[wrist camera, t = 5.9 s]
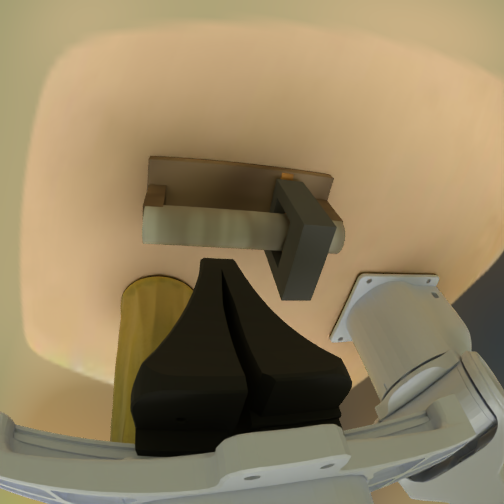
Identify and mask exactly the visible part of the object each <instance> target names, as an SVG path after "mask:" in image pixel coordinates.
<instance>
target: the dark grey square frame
mask: <svg viewBox="0 0 504 504" xmlns="http://www.w3.org/2000/svg"><path fill="white" fill-rule="evenodd" d="M269 213H280V214H285V213H286V215H287V217H288V219H289V221H290V225H289V229H288V233H287V237H286V241H285V244H284V248H283V252H282V251H276V250H264V251H265V254H266V256H267V259H268V262H269V265H270V268H271V271H272V274H273V277H274V280H275V283H276V286H277V288H278V291H279V294H280V297H281V300H311V298H312V295H313V293H314V290H315V287H316V285H317V282H318V279H319V277H320V274H321V271H322V268H323V266H324V263H325V260H326V257H327V254H328V252H329V249H330V246H331V243H332V240H333V237H334V234H335V231H336V228H337V227H336V225H335V224H334V223H333V221H332V220H331V219H330V217H329V216H328V214H327V213H326V212H325V210H324V209H323V208H322V206H321V205H320V204H319V202H318V201H317V200H316V198H315V197H314V196H313V195H312V193H311V192H310V191H309V189H308V188H307V187H306V185H305V184H304V183H303V182H299V181H291V180H283V179H276V184H275V188H274V193H273V197H272V202H271V206H270V211H269Z"/></svg>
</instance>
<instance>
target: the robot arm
mask: <svg viewBox="0 0 504 504" xmlns="http://www.w3.org/2000/svg"><path fill="white" fill-rule="evenodd" d="M368 279H369V280H368ZM438 281H439V277H438V276H437V275H412V274H361V275H360V276H359V277H358V279H357V281H356V283H355V285H354V288H353V290H352V292H351V294H350V296H349V299H348V301H347V303H346V305H345V307H344V309H343V311H342V314H341V316H340V318H339V320H338V322H337V324H336V326H335V328H334V330H333V332H332V334H331V336H330V340H331V342H347V341H353V343H354V345H355V347H356V349H357V351H358V353H359V355H360V357H361V360H362V362H363V364H364V366H365V368H366V370H367V372H368V375H369V377H370V379H371V381H372V383H373V385H374V388H375V390H376V392H377V394H378V396H379V399H380V401H381V403H380V404H379V405H377V406H376V407H375V410H376V412H377V414H378V417H379V418H377V419H376V420H375V422H374V423H373V425H368V426H364V427H360V428H355V429H350V430H345V431H343V429H342V426H341V424H340V421H339V418H340V417H341V412H340V409H339V405H340V404H341V403H342V401H343V400H344V399H345V397H346V396H347V395H348V393H349V391H350V389H351V387H352V381H351V378H350V376H349V373H348V371H347V369H346V367H345V365H344V363H343V361H342V359H341V358H339V357H337V356H335V355H333V354H331V353H329V352H327V351H325V350H324V349H322V348H320V347H318V346H317V345H315V344H313V343H312V342H310V341H309V340H307V339H306V338H304V337H303V336H301V335H300V334H299V333H297V332H296V331H295V330H294V329H292V328H291V327H290V326H288V325H287V324H286V323H285V322H284V321H283V320H282V319H280V318H279V317H278V316H277V315H276V314H275V313H274V312H273V311H272V310H271V309H270V308H269V307H268V306H267V304H266V303H265V302H264V301H263V300H262V299H261V297H260V296H259V295H258V294H257V292H256V291H255V290H254V289H253V287H252V286H251V285H250V283H249V282H248V280H247V279H246V278H245V276H244V275H243V273H242V272H241V270H240V268H239V267H238V265H237V264H236V262H235V261H234V260H233V259H214V258H203V259H201V261H200V271H199V276H198V279H197V282H196V285H195V288H194V290H193V293H192V295H191V297H190V299H189V301H188V304H187V305H186V307H185V309H184V311H183V313H182V314H181V316H180V318H179V319H178V321H177V322H176V324H175V325H174V327H173V328H172V330H171V331H170V333H169V334H168V335H167V336H166V338H165V339H164V340H163V341H162V342H161V344H160V345H159V346H158V347H157V348H156V349H155V350H154V351H153V352H152V353H151V354H150V355H149V356H148V357H147V358H146V359H145V360H144V361H143V362H142V364H141V366H140V368H139V371H138V373H137V375H136V378H135V381H134V384H133V387H132V392H131V404H130V411H131V414H132V418H133V421H134V425H135V444H131V443H119V442H110V441H101V440H93V439H86V438H79V437H72V436H67V435H61V434H56V433H51V432H45V431H41V430H36V429H32V428H28V427H24V426H20V425H15V424H14V422H13V420H12V419H11V418H10V417H9V416H8V415H6V414H5V413H2V412H0V488H1V489H4V490H6V491H9V492H12V493H15V494H18V495H22V496H24V497H28V498H31V499H34V500H38V501H41V502H44V503H47V504H374V502H373V499H372V497H371V493H370V492H372V491H375V490H377V489H380V488H383V487H385V486H388V485H390V484H393V483H395V482H399V484H400V485H401V486H402V487H403V489H404V490H405V492H406V493H408V495H409V497H410V498H412V499H417V500H424V501H437V502H447V503H450V504H504V466H503V464H504V390H503V388H502V387H501V385H500V383H499V382H498V380H497V379H496V377H495V375H494V374H493V373H492V371H491V370H490V368H489V367H488V366H487V364H486V363H485V361H484V360H483V359H482V358H481V356H480V355H479V354H478V353H477V352H471V338H470V334H469V331H468V329H467V327H466V325H465V323H464V322H463V321H462V319H461V318H460V317H459V315H458V314H457V313H456V311H455V310H454V309H453V307H452V306H451V305H450V303H449V302H448V301H447V300H446V298H445V297H444V296H443V294H442V293H441V292H440V291H439V289H438V288H437V287H436V285H437V283H438Z"/></svg>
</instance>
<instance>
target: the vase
mask: <svg viewBox="0 0 504 504" xmlns="http://www.w3.org/2000/svg"><path fill="white" fill-rule="evenodd" d="M192 293H193V290H192V289H191V288H190V287H189V286H187V285H186V284H184V283H183V282H181V281H178V280H176V279H173V278H169V277H161V276H154V277H147V278H143V279H140V280H138V281H136V282H134V283H133V284H131V285H130V286H129V287H128V288H127V289H126V290H125V291H124V293H123V295H122V300H121V322H120V330H119V339H118V350H117V357H116V366H115V378H114V392H113V410H112V420H111V437H110V442H119V443H131V444H135V425H134V421H133V418H132V414H131V411H130V404H131V392H132V387H133V384H134V381H135V378H136V375H137V373H138V371H139V368H140V366H141V364H142V362H143V361H144V360H145V359H146V358H147V357H148V356H149V355H150V354H151V353H152V352H153V351H154V350H155V349H156V348H157V347H158V346H159V345H160V344H161V342H162V341H163V340H164V339H165V338H166V336H167V335H168V334H169V333H170V331H171V330H172V328H173V327H174V325H175V324H176V322H177V321H178V319H179V318H180V316H181V314H182V313H183V311H184V309H185V307H186V305H187V304H188V301H189V299H190V297H191V295H192Z"/></svg>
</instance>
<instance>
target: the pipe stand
mask: <svg viewBox="0 0 504 504" xmlns="http://www.w3.org/2000/svg"><path fill="white" fill-rule="evenodd" d="M276 179H283V180H291V181H299V182H303V183H304V184H305V185H306V187H307V188H308V189H309V191H310V192H311V193H312V195H313V196H314V197H315V198H316V200H317V201H318V202H319V204H320V205H321V206H322V208H323V209H324V210H325V212H326V213H327V214H328V216H329V217H330V219H331V220H332V221H333V223H334V224H335V225H336V227H337V228H336V231H335V234H334V237H333V240H332V243H331V246H330V249H329V252H328V253H331V254H337V253H339V252H340V251H341V249H342V247H343V245H344V241H345V229H344V225H343V221H342V219H341V218H340V217H339V216H338V214H337V213H336V212H335V210H334V209H333V208H332V207H331V205H330V204H329V203H328V202H327V199H328V196H329V193H330V189H331V186H332V182H333V179H334V178H333V177H332V176H331V175H328V174H322V173H315V172H308V171H301V170H294V169H287V168H279V167H271V166H263V165H254V164H245V163H236V162H226V161H215V160H203V159H190V158H175V157H158V156H150V158H149V166H148V188H147V194H146V197H145V201H144V204H143V227H142V238H143V243H144V244H164V245H183V246H202V247H221V248H239V249H258V250H276V251H282V252H283V248H284V244H285V241H286V237H287V233H288V229H289V225H290V221H289V219H288V217H287V215H286V213H285V214H280V213H269V211H270V206H271V202H272V197H273V193H274V188H275V184H276Z"/></svg>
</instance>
